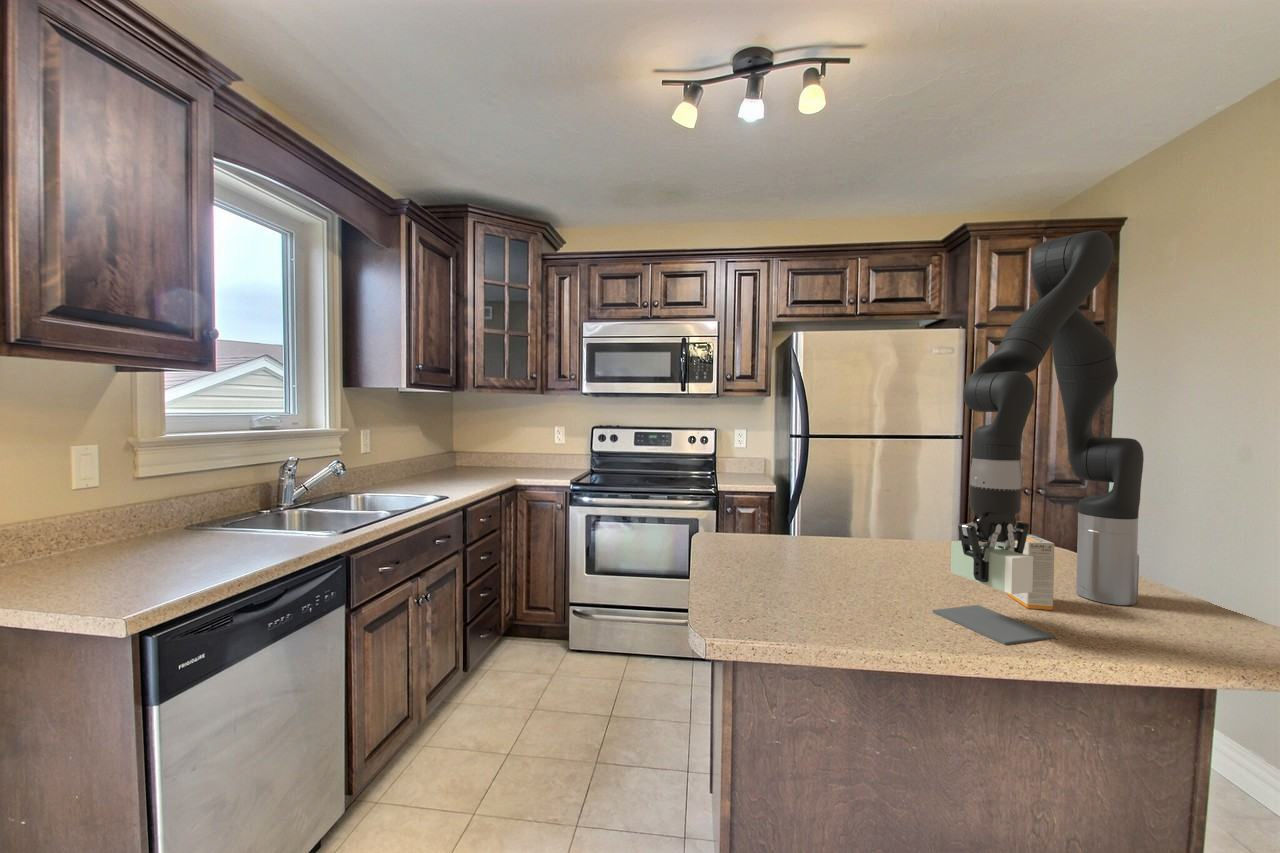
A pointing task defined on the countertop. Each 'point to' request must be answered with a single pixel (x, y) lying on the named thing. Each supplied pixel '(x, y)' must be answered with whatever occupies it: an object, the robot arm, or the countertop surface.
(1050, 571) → the supplement box
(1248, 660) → the countertop surface
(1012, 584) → the sage block
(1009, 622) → the mat
